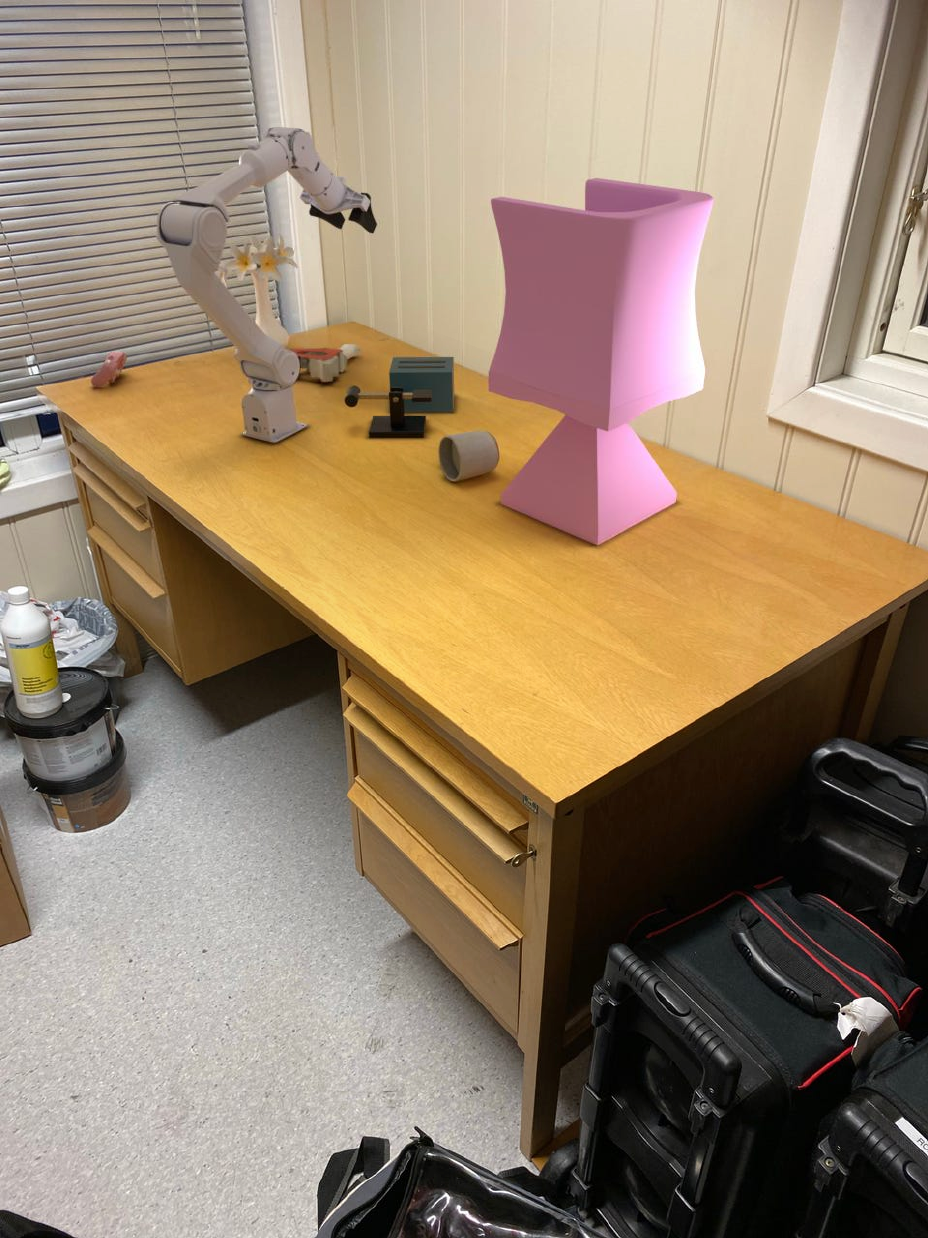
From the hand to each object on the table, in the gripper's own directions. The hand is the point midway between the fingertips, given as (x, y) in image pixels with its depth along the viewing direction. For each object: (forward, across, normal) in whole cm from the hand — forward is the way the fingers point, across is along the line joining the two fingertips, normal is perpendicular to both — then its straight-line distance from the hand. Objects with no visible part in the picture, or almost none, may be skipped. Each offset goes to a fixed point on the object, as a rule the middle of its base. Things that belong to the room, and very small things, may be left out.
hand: (357, 226), depth 179 cm
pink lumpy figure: (+3, +49, +40) cm, 64 cm away
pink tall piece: (+4, -63, +39) cm, 74 cm away
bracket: (+10, -19, +33) cm, 40 cm away
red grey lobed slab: (+23, +13, +22) cm, 34 cm away
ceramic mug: (+3, -40, +40) cm, 57 cm away
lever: (+6, -18, +30) cm, 35 cm away
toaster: (+19, -16, +24) cm, 35 cm away
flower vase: (+24, +32, +20) cm, 45 cm away
